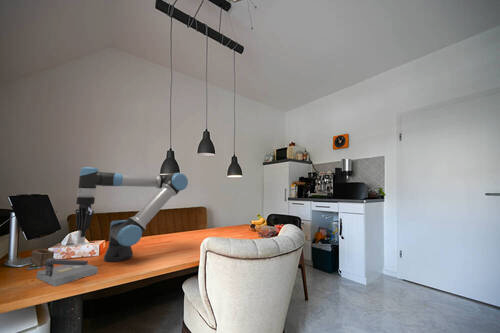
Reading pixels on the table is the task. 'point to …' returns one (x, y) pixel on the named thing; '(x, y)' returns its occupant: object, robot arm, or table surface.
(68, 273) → the plate
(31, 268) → the smartphone
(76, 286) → the table surface
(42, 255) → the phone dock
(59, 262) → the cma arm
